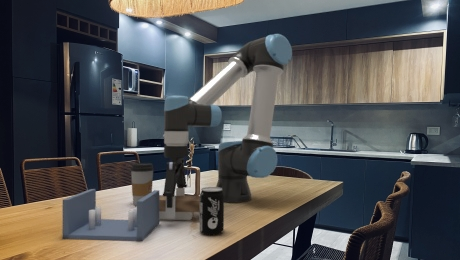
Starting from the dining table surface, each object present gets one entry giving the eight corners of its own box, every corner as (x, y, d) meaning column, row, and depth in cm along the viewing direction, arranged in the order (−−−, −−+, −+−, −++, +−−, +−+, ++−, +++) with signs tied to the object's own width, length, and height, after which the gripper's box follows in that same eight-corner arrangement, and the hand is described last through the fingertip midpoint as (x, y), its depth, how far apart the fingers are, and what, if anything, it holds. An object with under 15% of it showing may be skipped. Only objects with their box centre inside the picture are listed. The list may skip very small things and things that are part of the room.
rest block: (192, 217, 107) (192, 208, 107) (190, 220, 104) (190, 210, 104) (161, 216, 107) (161, 207, 107) (158, 219, 104) (159, 209, 104)
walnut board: (202, 206, 108) (202, 196, 108) (199, 212, 102) (199, 200, 101) (154, 205, 110) (154, 195, 110) (147, 211, 103) (147, 199, 103)
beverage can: (228, 232, 92) (228, 188, 92) (211, 238, 87) (211, 192, 87) (211, 227, 96) (211, 185, 96) (194, 232, 91) (194, 188, 91)
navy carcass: (159, 224, 99) (159, 190, 99) (142, 241, 84) (142, 201, 84) (90, 222, 101) (90, 189, 101) (62, 238, 86) (62, 199, 86)
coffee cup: (147, 207, 120) (147, 165, 120) (126, 206, 121) (126, 165, 121) (157, 202, 128) (157, 163, 128) (137, 201, 130) (137, 162, 130)
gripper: (173, 143, 118) (173, 203, 118) (152, 146, 93) (152, 223, 93) (194, 143, 118) (194, 204, 118) (179, 147, 93) (178, 223, 93)
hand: (175, 212), depth 106 cm, fingers open, 13 cm apart
